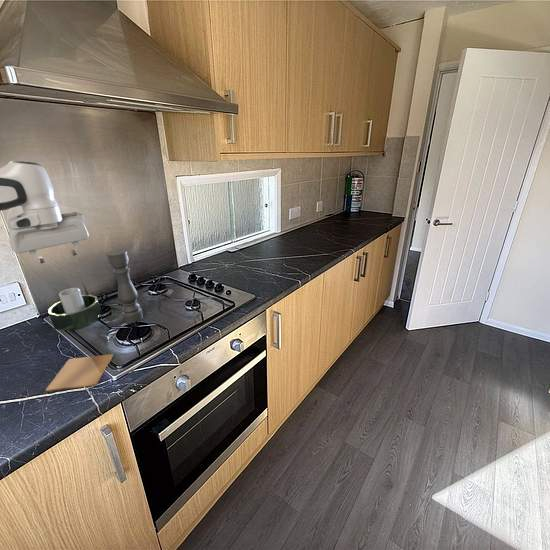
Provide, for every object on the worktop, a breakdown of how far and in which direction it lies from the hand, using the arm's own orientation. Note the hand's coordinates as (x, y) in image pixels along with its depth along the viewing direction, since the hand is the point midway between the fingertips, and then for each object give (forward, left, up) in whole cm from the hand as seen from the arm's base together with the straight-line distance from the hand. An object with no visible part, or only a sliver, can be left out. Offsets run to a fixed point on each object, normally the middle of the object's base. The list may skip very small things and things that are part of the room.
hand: (58, 258), depth 96 cm
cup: (0, 0, -23) cm, 23 cm away
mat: (+14, -30, -23) cm, 40 cm away
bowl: (0, 0, -23) cm, 23 cm away
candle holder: (+20, -4, -23) cm, 31 cm away
